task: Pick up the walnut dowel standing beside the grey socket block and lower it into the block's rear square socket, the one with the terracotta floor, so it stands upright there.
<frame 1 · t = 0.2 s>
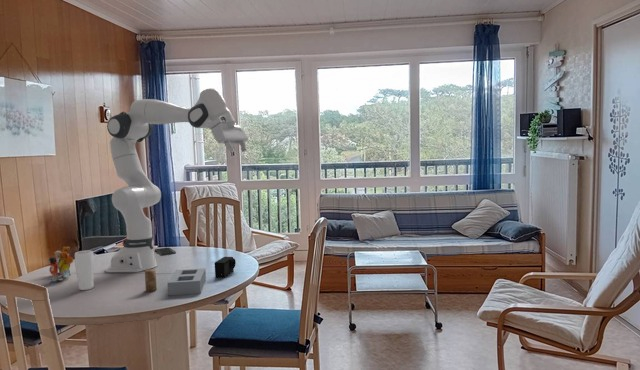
hand: (239, 151, 188), 54 cm above the table, tool tilted 30°, fingers open, 8 cm apart
phone: (165, 253, 243), on the table
digital camera: (225, 275, 196), on the table
drinking glass: (86, 289, 181), on the table
socket block: (188, 287, 179), on the table
doll family: (65, 277, 198), on the table
walnut dowel: (151, 290, 177), on the table
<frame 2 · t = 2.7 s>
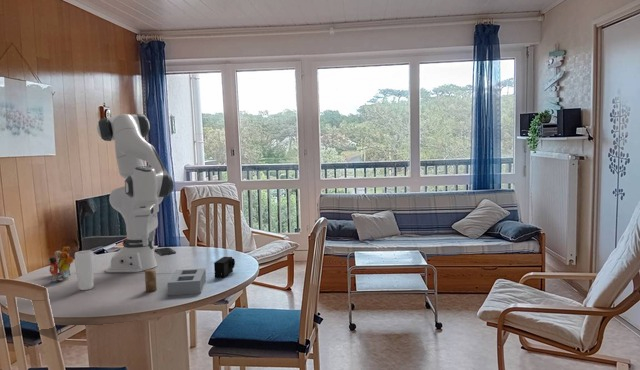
hand: (148, 243, 175), 19 cm above the table, tool pointing down, fingers open, 8 cm apart
nothing on the table moved.
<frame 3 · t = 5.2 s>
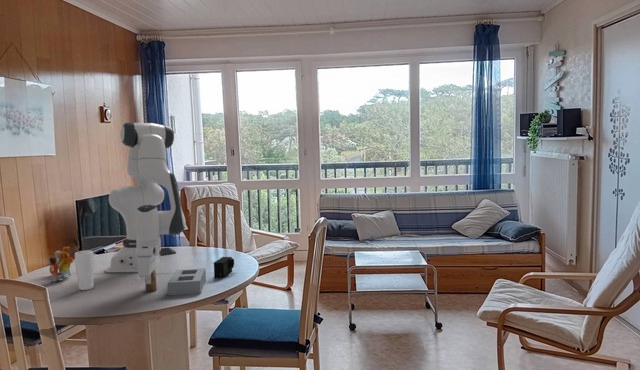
hand: (150, 281, 176), 4 cm above the table, tool pointing down, fingers closed on walnut dowel, 4 cm apart
walnut dowel: (151, 290, 177), on the table, touching gripper
everything else where it was.
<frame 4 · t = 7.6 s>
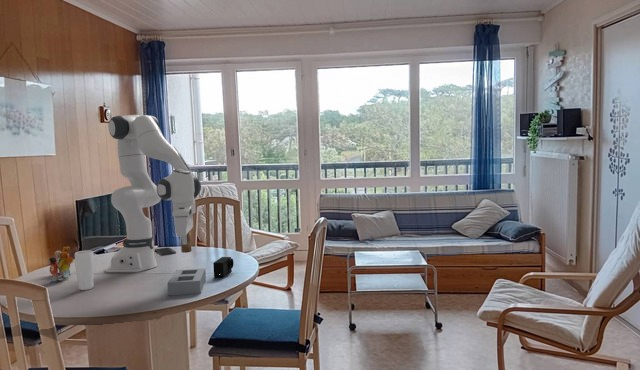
hand: (185, 242, 182), 17 cm above the table, tool pointing down, fingers closed on walnut dowel, 4 cm apart
walnut dowel: (186, 251, 182), point 14 cm above the table, touching gripper
everything else where it was.
when the fingers open (6 cm above the table, at t = 10.2 s): walnut dowel stays where it is, resting on socket block.
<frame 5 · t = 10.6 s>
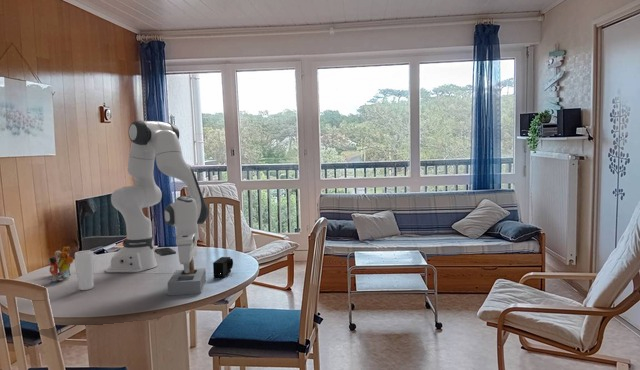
hand: (189, 269, 183), 6 cm above the table, tool pointing down, fingers open, 8 cm apart
walnut dowel: (189, 279, 184), point 2 cm above the table, touching socket block
everything else where it was.
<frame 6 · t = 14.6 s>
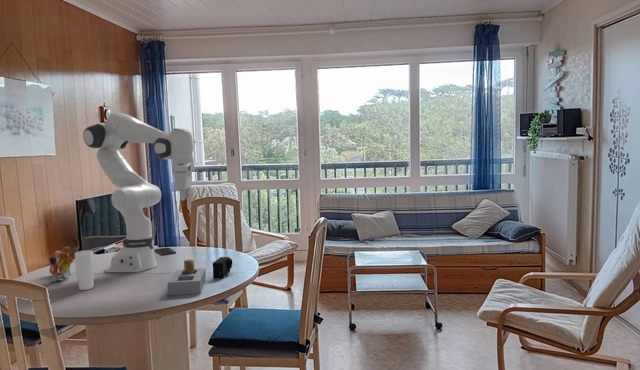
hand: (184, 199, 191), 34 cm above the table, tool pointing down, fingers open, 8 cm apart
at the end: walnut dowel 0.0 cm from the target spot on the socket block, point 1.7 cm above the socket block's base; walnut dowel tilted 1°; the gripper is holding nothing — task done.
